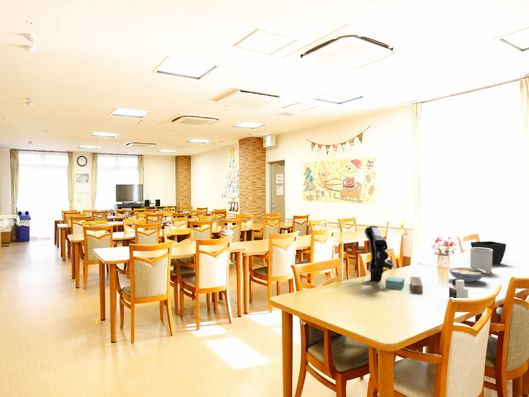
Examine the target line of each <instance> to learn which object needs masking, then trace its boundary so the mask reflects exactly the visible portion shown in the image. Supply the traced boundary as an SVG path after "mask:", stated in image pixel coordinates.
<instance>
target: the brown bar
mask: <svg viewBox="0 0 529 397" xmlns="http://www.w3.org/2000/svg"><path fill="white" fill-rule="evenodd" d="M410 286H411V287H410V288H411V294H412V293H413V294H423V283H422V279H421V277H420V276H410Z"/></svg>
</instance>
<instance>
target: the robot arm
mask: <svg viewBox="0 0 529 397" xmlns="http://www.w3.org/2000/svg"><path fill="white" fill-rule="evenodd" d="M364 234H365V237H366V238H367V240H368V243H369V249H370V258H371V259H370V262H369V265H368V267H367V269H368V272H369V273H370V279H369V280H370V282H381V281H382V277H383V274H384V273H385V271H386V269H388V270H393V267H394V263H393V261H392V260H389V261H387V260H388V258H389V254H388V252H386V251H388V243H387V240H386V239H385V237H384V236H381V233H380V231H379V228H378V225H370V226H368V227H366V228H365V229H364Z"/></svg>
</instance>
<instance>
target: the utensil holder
mask: <svg viewBox="0 0 529 397" xmlns="http://www.w3.org/2000/svg"><path fill="white" fill-rule="evenodd" d="M469 252H470V254H469V255H470V256H469V257H470V262H469V263H470V266H472V267H474V268H477V269H482V270H484V271H486V273H487V275H489V274H490V275H491V274H492V273H493V272H492V270H493V264H492V252H493V250H492V249H489V248H481V247H473V248H472V247H470V248H469ZM470 266H469V267H470ZM472 267H470V268H472Z"/></svg>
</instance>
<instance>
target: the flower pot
mask: <svg viewBox="0 0 529 397" xmlns="http://www.w3.org/2000/svg"><path fill="white" fill-rule="evenodd" d="M470 246H471V247H470V248H473V247H481V248H489V249H492V250H493V252H492V265H498V264H499V265H500V264H501V263H502V261H503V258H504V256H505V253H506V249H507V243H503V242H497V241H492V240H491V241H489V240H487V241H472V242H470Z"/></svg>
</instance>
